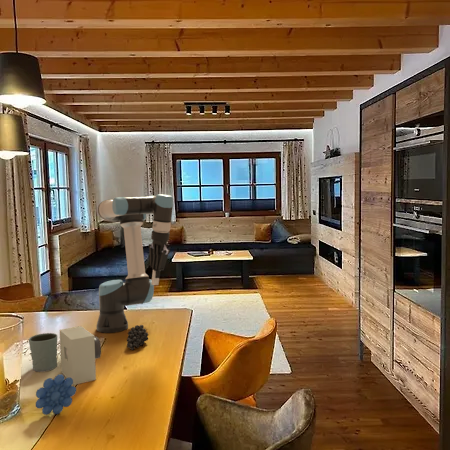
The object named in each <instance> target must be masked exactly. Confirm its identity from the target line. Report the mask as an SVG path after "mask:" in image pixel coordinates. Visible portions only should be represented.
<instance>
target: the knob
mask: <svg viewBox="0 0 450 450" xmlns="http://www.w3.org/2000/svg"><path fill="white" fill-rule="evenodd" d="M94 343H95V360H97V359H101V356H102V347H101V342H100V339H99V337H98V336H94ZM66 355H67V358H68V349H66Z"/></svg>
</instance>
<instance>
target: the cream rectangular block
mask: <svg viewBox="0 0 450 450" xmlns="http://www.w3.org/2000/svg"><path fill="white" fill-rule="evenodd" d="M94 337H95V335H94V334H93V333H91V332H90V331H89V330H87V329H86V328H85V327H83V326H82V325H79V326H74V327H67V328H62V329H59V346H60V347H59V348H60V368H61V370H60V371H61V374H62V375H63V376H64V378H65V377H66V378H69V377H70V378H72V379H73V384H72V386H76V385H80V384H83V383H88V382H92V381H96V380H97V374H96V373H97V371H96V368H97V367H96V359H95V343H94ZM66 349H68V358H67V355H66ZM66 378H65V379H66Z"/></svg>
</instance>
